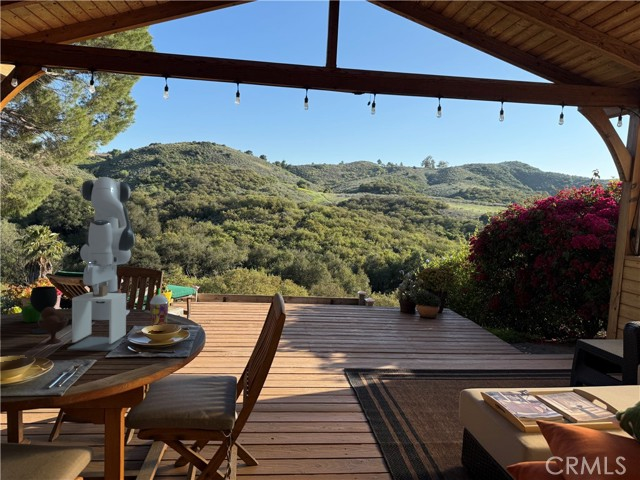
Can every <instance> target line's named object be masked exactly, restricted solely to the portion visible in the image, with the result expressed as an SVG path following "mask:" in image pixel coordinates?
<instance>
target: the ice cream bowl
mask: <svg viewBox="0 0 640 480" xmlns="http://www.w3.org/2000/svg"><path fill="white" fill-rule="evenodd" d="M36 323H37V325H38V328H41V329H42V330H43V331H45V332H47V334H49V335H50V339H47V340H46V341H45V344H46V345H57V344H60V343H61V342H62V341H61V340H60V338H58V337H57V336H56V335H57V333H59V332H60V331H62V330H64V329H65V328H66V327H67V325H68V323H69V317H66V314H65V312H63V311H62V310H60V309H57V308H55V306H54V307H47V308H45V309H44V310H43V311H42V312H41V318H40V320H39V321H37V322H36Z"/></svg>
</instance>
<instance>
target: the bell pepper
mask: <svg viewBox="0 0 640 480" xmlns="http://www.w3.org/2000/svg"><path fill="white" fill-rule="evenodd" d="M25 304H26V305H25V306H22V308H21V315H22V318H23V321H24V322H25V323H27V324H30V323H38V322H37V321H39V320H41V319H42V316H41V313H40V312H38V311H36V310H35V309H34V308H33V307H32V305H31V302H30V301H27V302H25Z"/></svg>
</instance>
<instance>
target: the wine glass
mask: <svg viewBox="0 0 640 480" xmlns="http://www.w3.org/2000/svg"><path fill="white" fill-rule="evenodd" d="M29 298H30V299H29V302H31V305H32V307H33V308H34V309H35V310H36V311H38V312H40V313H41V312H42V311H43V310H44V309H45V308H47V307H54V308H55V306H56V305H57V302H58V291H57V288H56V286H54V285H53V286H52V285H47V286H45V285H43V286H34V287H32V288H31V292H30V297H29ZM30 334H32V335H45V334H48V333H47V332H45V331H43V330H42V329H41V328H40V327H38V328H34V329H31V330H30Z"/></svg>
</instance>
